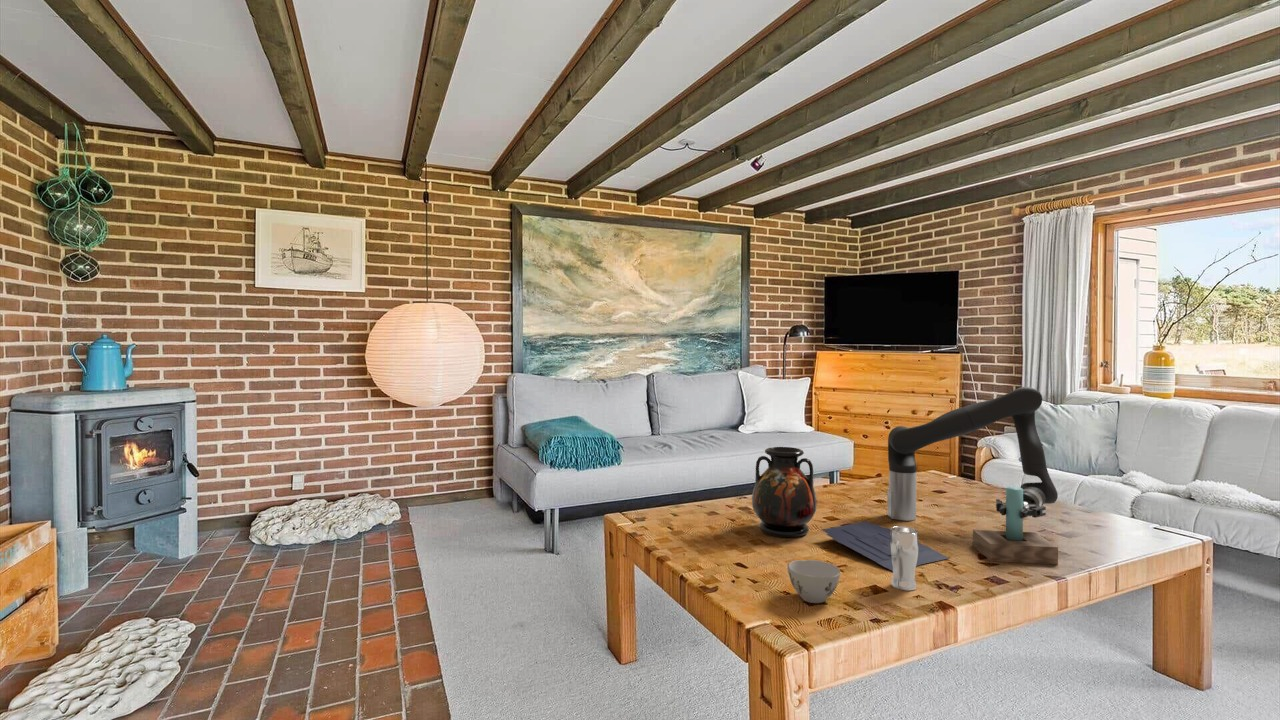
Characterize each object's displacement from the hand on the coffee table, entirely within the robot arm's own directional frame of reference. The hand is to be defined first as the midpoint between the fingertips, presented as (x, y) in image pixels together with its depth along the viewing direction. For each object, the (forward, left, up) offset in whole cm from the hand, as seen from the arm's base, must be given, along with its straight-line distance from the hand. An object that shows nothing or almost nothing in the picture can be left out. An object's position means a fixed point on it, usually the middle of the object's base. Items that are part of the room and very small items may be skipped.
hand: (1012, 513), depth 181 cm
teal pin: (+2, +2, -9) cm, 9 cm away
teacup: (-63, -40, -13) cm, 75 cm away
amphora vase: (-66, +14, -13) cm, 68 cm away
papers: (-37, 0, -13) cm, 40 cm away
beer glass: (-38, -29, -13) cm, 49 cm away
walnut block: (+1, +2, -13) cm, 13 cm away
